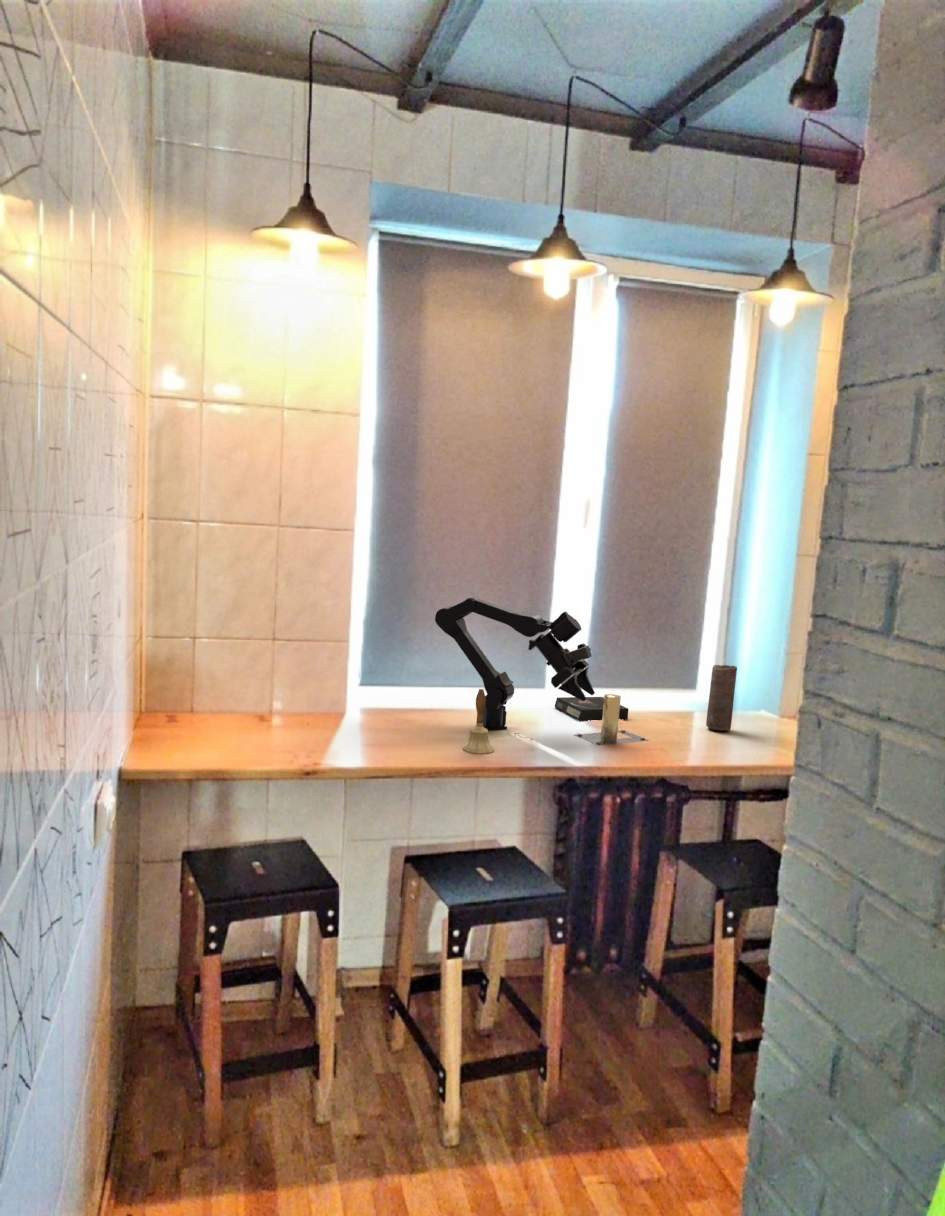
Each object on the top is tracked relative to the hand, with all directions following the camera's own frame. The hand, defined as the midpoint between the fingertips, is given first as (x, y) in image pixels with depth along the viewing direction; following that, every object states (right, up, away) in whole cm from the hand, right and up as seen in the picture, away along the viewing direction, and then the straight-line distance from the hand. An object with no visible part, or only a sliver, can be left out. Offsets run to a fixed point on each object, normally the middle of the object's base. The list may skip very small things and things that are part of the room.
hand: (589, 697), depth 254 cm
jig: (+6, -13, +3) cm, 15 cm away
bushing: (+5, -12, -1) cm, 13 cm away
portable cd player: (+5, -9, +37) cm, 38 cm away
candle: (+42, -13, +27) cm, 52 cm away
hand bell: (-31, -13, -13) cm, 36 cm away
